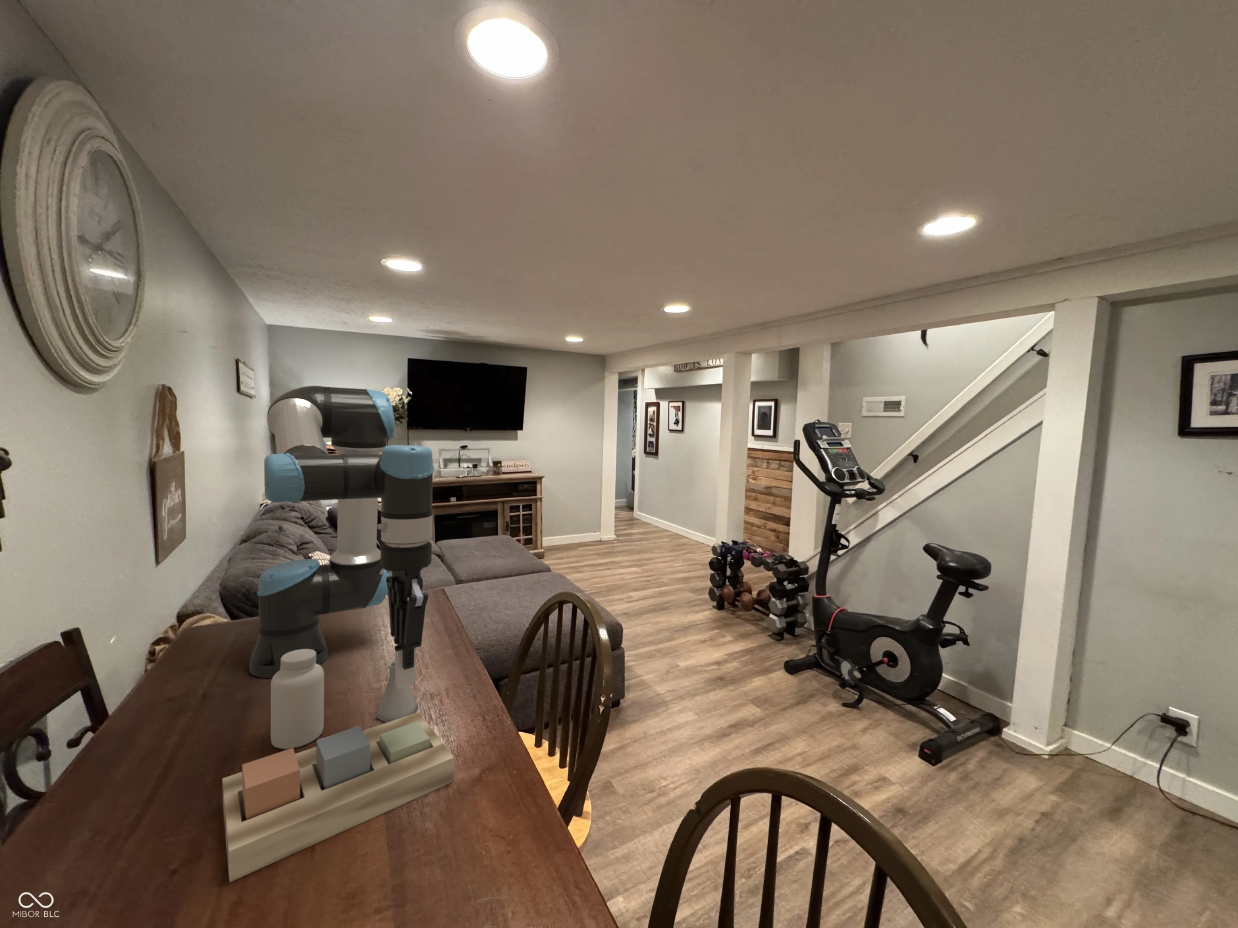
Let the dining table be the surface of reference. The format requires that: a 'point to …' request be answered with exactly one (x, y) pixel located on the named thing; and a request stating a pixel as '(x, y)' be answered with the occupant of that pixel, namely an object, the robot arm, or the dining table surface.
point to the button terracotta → (270, 782)
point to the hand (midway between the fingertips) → (405, 684)
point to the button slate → (343, 756)
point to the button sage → (403, 742)
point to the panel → (330, 801)
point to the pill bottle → (297, 700)
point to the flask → (396, 700)
